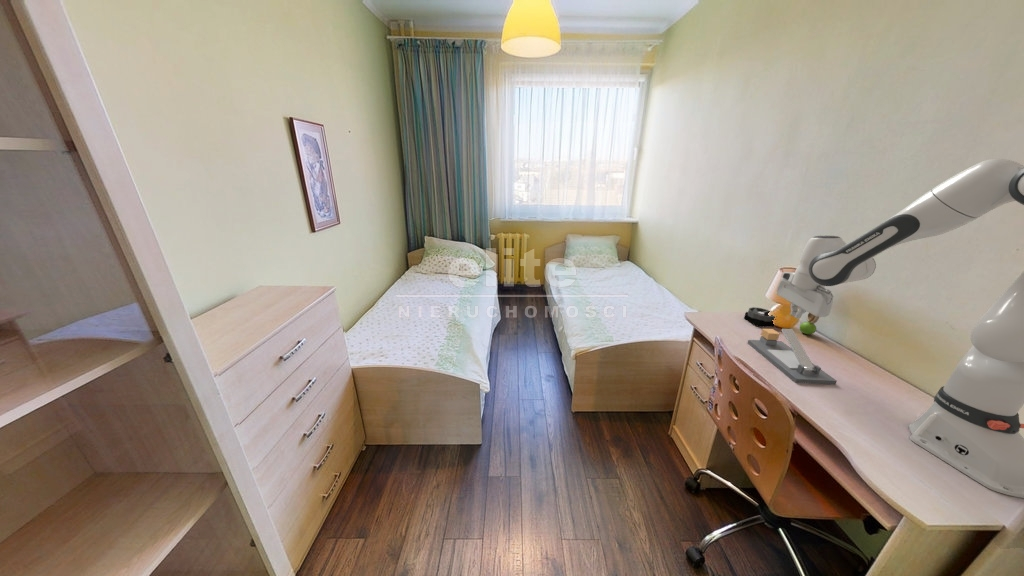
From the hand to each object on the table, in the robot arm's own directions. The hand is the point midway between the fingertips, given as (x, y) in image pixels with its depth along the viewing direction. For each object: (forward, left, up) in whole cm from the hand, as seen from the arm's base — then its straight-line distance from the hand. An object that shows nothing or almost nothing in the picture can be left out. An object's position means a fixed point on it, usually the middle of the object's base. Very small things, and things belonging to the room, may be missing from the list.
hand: (795, 316), depth 118 cm
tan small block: (+8, 0, -13) cm, 16 cm away
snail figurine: (+20, -25, -17) cm, 36 cm away
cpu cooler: (+30, -11, -18) cm, 36 cm away
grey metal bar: (-5, 0, -11) cm, 12 cm away
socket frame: (-3, 0, -17) cm, 17 cm away
